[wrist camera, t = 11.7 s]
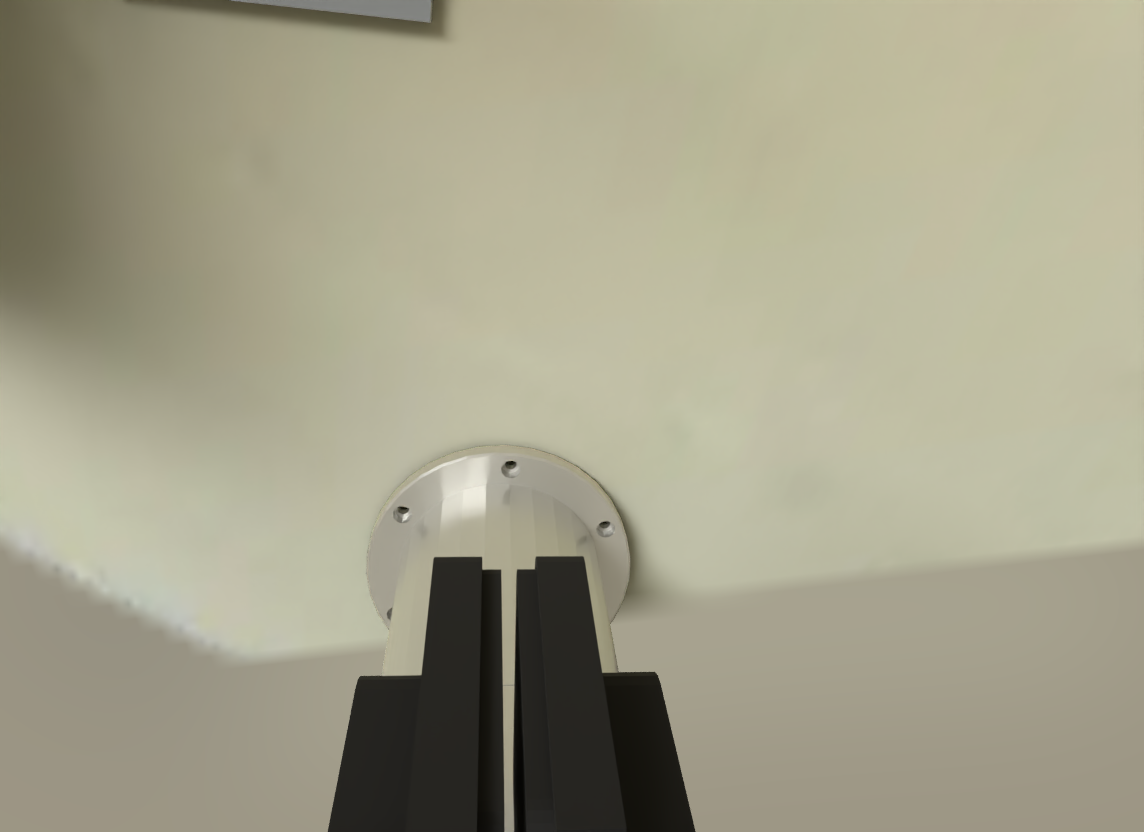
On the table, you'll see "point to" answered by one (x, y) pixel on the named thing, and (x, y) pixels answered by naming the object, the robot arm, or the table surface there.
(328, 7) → the notebook
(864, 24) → the table surface
